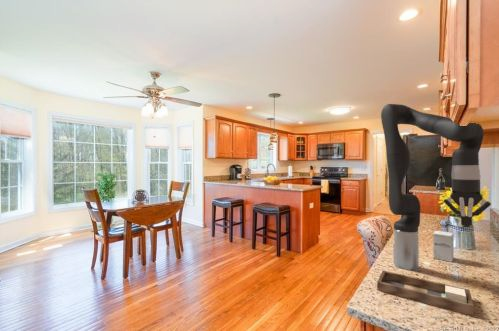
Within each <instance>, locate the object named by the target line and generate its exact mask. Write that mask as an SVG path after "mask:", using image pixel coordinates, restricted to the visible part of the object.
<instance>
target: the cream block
mask: <svg viewBox="0 0 499 331" xmlns="http://www.w3.org/2000/svg"><path fill="white" fill-rule="evenodd" d="M446 285H447V284H446ZM446 285H445V298H448V299H452V300H456V301H460V302H464V303H466V294H465V290H464V289H465V288H464V289H459V288H455V287H456V286H455V287H450V286H446Z"/></svg>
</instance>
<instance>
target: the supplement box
mask: <svg viewBox="0 0 499 331" xmlns="http://www.w3.org/2000/svg"><path fill="white" fill-rule="evenodd" d="M432 238H433V239H432V241H433V242H432V245H433V246H432V251H433V252H432V253H433V255H432V256H433V259H437V260H441V261H447V262H450V263H452V262H453V260H454V233H453V232H448V231H440V230H434V231H433V233H432Z"/></svg>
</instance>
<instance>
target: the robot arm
mask: <svg viewBox="0 0 499 331" xmlns="http://www.w3.org/2000/svg"><path fill="white" fill-rule="evenodd" d="M380 117H381V118H380V121H381V125H382V130H383V134H384V140H385V149H386V152H385V153H386V164H387V171H388V172H387V173H388V207H389V209H390V212H391V213H392V214H393V215H394V216H402V218H400V219H398V220H396V221H395V222H394V223H393V242H394V243H393V246H392V247H393V248H392V251H393V265H394V267H395V268H396V269H401V270H406V271H410V272H414V273H416V272H417V273H418V272H419V271H420V263H419V262H420V256H419V254H420V253H419V250H420V249H419V247H420V246H419V227H420V224H421V202H420V199H419V198H418V196H416V195H415V194H414V193H413V194H412V193H403V183H404V180H405V178H406V176H407V174H408V173H409V171H410V168H411V164H412V163H411V151H410V149H409V147H408V145H407V143H406V142H405V140H404V138H403V137H402V136H401V134H400V130H399V125H410V126H415V127H417V128H419V129H420V130H422V131H423V132H424V131H425V132H427V133H430V134H434V135H437V136H440V137H442V138H444V139H446V140H448V141H452V142H458V143H459V142H460V144H459V148H456V149H455V150H453V151H452V155H451V158H452V159H451V160H452V162H451V164H452V166H451V175H450V176H451V193H450V195H449V197H447V198H444V199H443V202H444V204H445V205H446V206H447V207H448V208H449V210H451V211H452V212H453V213H454V214H455V215H457V216H458V215H459V216H460V223H461V226H463V227H464V228H470V227H472V225H473V217H478V216H480V215H481V214H482V213H483V212H484V211H486V209H488V208H489V207H490V206H491V205H492V204H491V202H490V201H487V200H486V199H485V198H484V197H483V196H482V194H481V170H480V163H479V162H480V159H479V153H480V150H481V148H482V144H483V140H484V135H485V132H484V129H483V127H482V125H481V124H480V123H478V124H476V123H477V122H476V123H469V124H468V125H467V126H460V125H459V124H456V123H453V121H452V120H451V118H449V117H448V116H443V115H438V114H432V113H426V112H422V111H419V110H416V109H415V108H411V107H410V106H407V105H404V104H399V103H397V104H396V103H387V104H385V105H384V106H383V108H381V113H380ZM453 202H454V203H455V204H456V205H458V206H459V210H458V208H456V207H455V206H454V205H453ZM479 203H480V206H479V207H478V208H476V209H475V210H474V211H473V209H474V207H476V205H479ZM465 207H467V208H465Z"/></svg>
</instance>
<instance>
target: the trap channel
mask: <svg viewBox="0 0 499 331" xmlns="http://www.w3.org/2000/svg"><path fill="white" fill-rule="evenodd" d="M376 285H377V287H376V288H377V291H379V292H381V293H382V292H383V293H385V294H389V295H392V296H397V297H401V298H404V299H408V300H413V301H415V302H420V303H422V304H427V305H431V306H434V307H437V308H442V309H445V310H449V311H453V312H456V313H460V314H462V315H463V314H464V315H467V316H471V317H475V305H474V301H473V299H472V298H473V297H472V295H471V291H470V288H469V289H468V288H464V287H460V286H454V285H451V284H445V283H442V282H438V281H437V282H436V281H432V280H427V279H423V278H420V277H419V278H418V277H414V276H410V275H405V274H401V273H397V272H392V271H387V270H382V271H381V274H380V276H379V278H378V279H377V284H376ZM445 285H446V286H450V287H455V288H459V289H464V290H465V294H466V303H464V302H460V301H456V300H452V299H448V298H445Z"/></svg>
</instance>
